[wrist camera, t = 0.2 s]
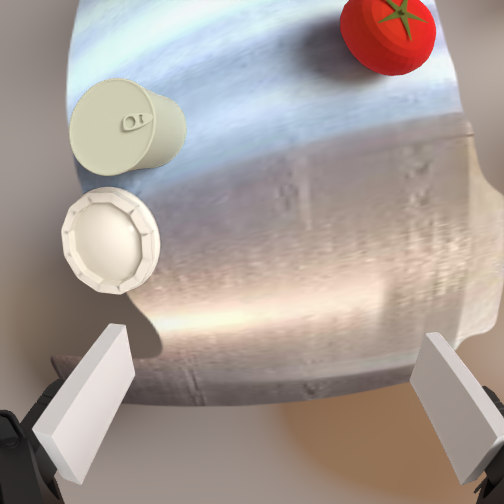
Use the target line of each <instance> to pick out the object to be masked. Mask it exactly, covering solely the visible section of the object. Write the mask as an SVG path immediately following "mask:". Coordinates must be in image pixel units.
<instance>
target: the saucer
mask: <svg viewBox="0 0 504 504" xmlns="http://www.w3.org/2000/svg"><path fill="white" fill-rule="evenodd" d="M61 233H62V242H63V250H64V255H65V258H66V260H67V261H68V263H69V265H70V266H71V268H72V270H73V271H74V273H75V274H76V276H77V278H78V279H80V280H81V281H83V282H84V283H85V284H87V285H89V286H90V287H91V288H93V289H94V290H96V291H97V292H103V293H113V294H122V293H124V292H126V291H128V290H132V289H134V288H136V287H138V286H140V285H141V284H143V283H144V282H145V281H146V280H147V279H148V278H149V276H150V275H151V274H152V273H153V271H154V269H155V268H156V265H157V263H158V260H159V257H160V250H161V239H160V232H159V228H158V225H157V222H156V220H155V218H154V216H153V214H152V212H151V211H150V209H149V208H148V207H147V205H146V204H145V203H144V202H143V201H142V200H141V199H140V198H139V197H137V196H136V195H134V194H133V193H131V192H129V191H127V190H125V189H122V188H118V187H110V186H107V187H100V188H97V189H93V190H91V191H89V192H87V193H85V194H84V195H82V196H81V197H80V198H79V199H78V200H77V202H76V203H75V204H73V205H72V206H71V207H70V208H69V211H68V213H67V216H66V218H65V221H64V224H63V227H62V231H61Z"/></svg>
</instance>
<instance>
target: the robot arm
mask: <svg viewBox="0 0 504 504" xmlns="http://www.w3.org/2000/svg"><path fill="white" fill-rule="evenodd" d="M134 376H135V371H134V367H133V362H132V357H131V352H130V347H129V342H128V336H127V331H126V326H125V325H119V324H109V325H108V327H107V328H106V329H105V330H104V332H103V333H102V334H101V335H100V337H99V338H98V339H97V341H96V342H95V343H94V344H93V346H92V347H91V348H90V350H89V351H88V352H87V354H86V355H85V356H84V357H83V359H82V360H81V361H80V363H79V364H78V365H77V367H76V368H75V369H74V371H73V372H72V373H71V375H70V376H69V377H68V379H67V380H62V379H58V380H56V381H55V382H53V383H52V384H50V385H49V386H48V387H47V388H46V390H45V391H44V392H43V394H42V396H40V398H39V399H38V400H37V403H35V404H34V405H33V407H32V408H31V409H30V411H29V412H28V414H27V415H26V416H25V418H24V419H23V420H22V422H21V423H19V421H18V419H17V418H16V416H15V415H14V414H13V413H12V412H11V411H8V410H0V504H65V503H64V501H63V498H62V496H61V493H60V490H59V487H58V484H57V481H56V479H55V478H54V475H55V473H56V471H57V470H58V471H59V473H60V474H61V476H62V477H63V478H64V479H67V480H70V481H72V482H75V483H78V484H82V482H83V480H84V478H85V476H86V474H87V471H88V469H89V467H90V465H91V463H92V461H93V459H94V456H95V454H96V452H97V450H98V448H99V446H100V444H101V442H102V440H103V438H104V436H105V433H106V432H107V429H108V427H109V425H110V423H111V421H112V419H113V417H114V415H115V413H116V411H117V409H118V407H119V405H120V403H121V401H122V399H123V397H124V395H125V393H126V392H127V390H128V388H129V386H130V384H131V382H132V380H133V378H134ZM409 381H410V383H411V384H412V386H413V388H414V390H415V392H416V394H417V396H418V398H419V400H420V401H421V403H422V405H423V407H424V409H425V411H426V413H427V415H428V417H429V419H430V421H431V423H432V425H433V427H434V429H435V431H436V433H437V435H438V437H439V439H440V441H441V443H442V445H443V447H444V449H445V451H446V454H447V456H448V458H449V460H450V462H451V464H452V466H453V469H454V471H455V473H456V475H457V478H458V480H459V482H460V484H461V485H464V484H467V483H469V482H472V481H474V480H477V478H478V477H479V476H480V475H481V474H482V473H483V471H485V473H486V475H487V476H486V478H485V479H484V480H483V481H482V482H481V484H480V485H479V486H478V487H477V488H476V489H475V491H474V493H476V492H477V491H478V490H479V489H480V488H481V490H480V493H479V496H478V499H477V502H476V504H504V405H503V404H502V403H501V402H500V400H499V398H498V397H497V396H496V394H495V393H494V392H493V391H492V390H490V389H488V388H487V387H486V386H482V387H481V385H480V384H479V383H478V381H477V380H476V379H475V377H474V376H473V375H472V373H471V372H470V371H469V370H468V368H467V367H466V366H465V364H464V363H463V362H462V361H461V359H460V358H459V357H458V355H457V354H456V353H455V352H454V350H453V349H452V348H451V347H450V345H449V344H448V343H447V342H446V340H445V339H444V338H443V337H442V336H441V334H440V333H439V332H436V333H425V336H424V339H423V342H422V346H421V349H420V352H419V355H418V358H417V361H416V364H415V366H414V369H413V372H412V375H411V378H410V380H409Z"/></svg>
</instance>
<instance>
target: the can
mask: <svg viewBox="0 0 504 504" xmlns="http://www.w3.org/2000/svg"><path fill="white" fill-rule="evenodd" d="M186 132H187V125H186V119H185V116H184V114H183V112H182V110H181V108H180V107H179V106H178V105H177V104H176V103H175V102H174V101H173V100H171V99H169V98H167V97H165V96H161V95H158V94H156V93H153V92H151V91H149V90H147V89H145V88H143V87H141V86H140V85H139V84H137V83H135V82H133V81H131V80H128V79H123V78H113V79H108V80H104V81H102V82H99V83H97V84H96V85H94V86H93V87H91V88H90V89H89V90H88V91H87V92H86V93H85V94H84V95H83V96H82V97H81V98H80V100H79V101H78V103H77V104H76V106H75V108H74V111H73V113H72V116H71V120H70V126H69V139H70V145H71V148H72V151H73V153H74V155H75V157H76V159H77V160H78V161H79V163H80V164H81V165H82V166H83V167H84V168H86V169H87V170H89V171H90V172H92V173H95V174H98V175H102V176H113V175H118V174H121V173H124V172H127V171H132V170H136V169H142V168H155V167H159V166H162V165H164V164H166V163H168V162H169V161H171V160H172V159H173V158H174V157H175V156H176V155H177V154H178V153H179V151H180V150H181V148H182V146H183V144H184V141H185V138H186Z"/></svg>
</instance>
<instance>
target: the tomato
mask: <svg viewBox="0 0 504 504" xmlns="http://www.w3.org/2000/svg"><path fill="white" fill-rule="evenodd" d="M340 31H341V34H342V37H343V39H344V41H345V43H346V45H347V47H348V48H349V50H350V52H351V53H352V54H353V55H354V56H355V58H356V59H357V60H358V61H359V62H360V63H362V64H363V65H364V66H366V67H367V68H368V69H370V70H372V71H374V72H376V73H379V74H383V75H389V76H395V75H404V74H407V73H409V72H411V71H413V70H415V69H417V68H419V67H420V66H421V65H422V64H423V63H424V62H425V61H426V60H427V59H428V58H429V56H430V54H431V52H432V50H433V47H434V42H435V37H436V27H435V22H434V19H433V17H432V15H431V12H430V11H429V10H428V8H427V7H426V6H425V5H424V4H423V3H422V2H421V1H420V0H349V1H348V2H347V3H346V4H345V5H344V8H343V11H342V14H341V17H340Z"/></svg>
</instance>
